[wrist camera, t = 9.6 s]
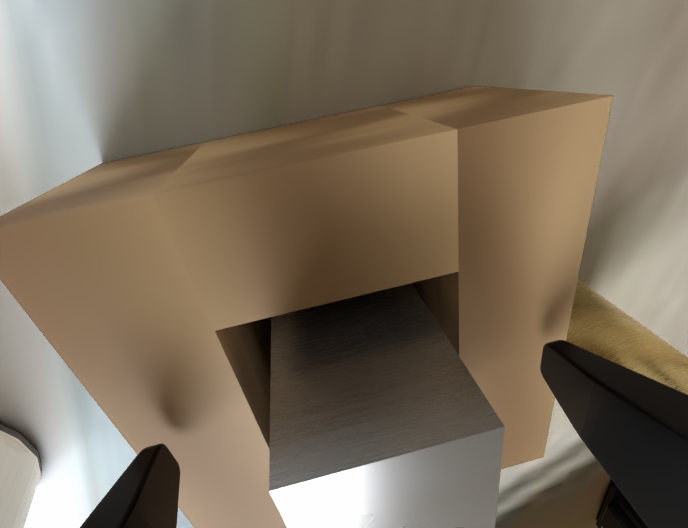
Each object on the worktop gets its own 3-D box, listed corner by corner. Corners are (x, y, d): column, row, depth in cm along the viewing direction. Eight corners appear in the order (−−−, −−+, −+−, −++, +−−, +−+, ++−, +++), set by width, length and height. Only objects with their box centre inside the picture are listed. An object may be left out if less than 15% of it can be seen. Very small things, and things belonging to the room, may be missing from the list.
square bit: (374, 225, 12) (504, 426, 5) (385, 308, 14) (494, 538, 7) (272, 249, 12) (268, 491, 5) (296, 329, 14) (318, 590, 7)
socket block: (474, 86, 11) (612, 95, 6) (470, 353, 16) (543, 456, 12) (101, 163, 10) (-35, 235, 6) (230, 415, 15) (212, 551, 11)
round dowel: (590, 265, 15) (866, 441, 8) (578, 327, 16) (794, 516, 10) (510, 287, 15) (718, 485, 8) (507, 347, 16) (675, 553, 9)
